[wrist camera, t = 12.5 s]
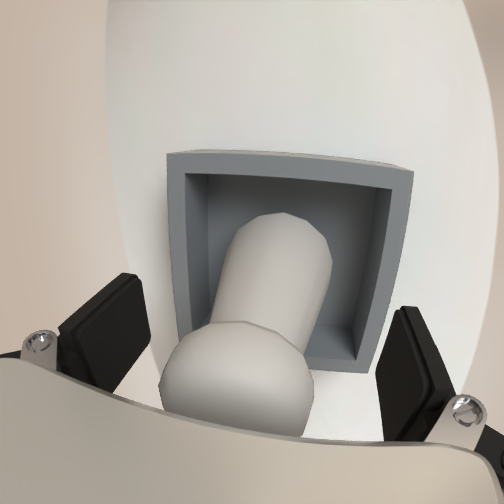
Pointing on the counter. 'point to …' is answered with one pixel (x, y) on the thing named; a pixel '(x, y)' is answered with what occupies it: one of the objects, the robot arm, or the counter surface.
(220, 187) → the box
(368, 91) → the counter surface
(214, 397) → the salt shaker
